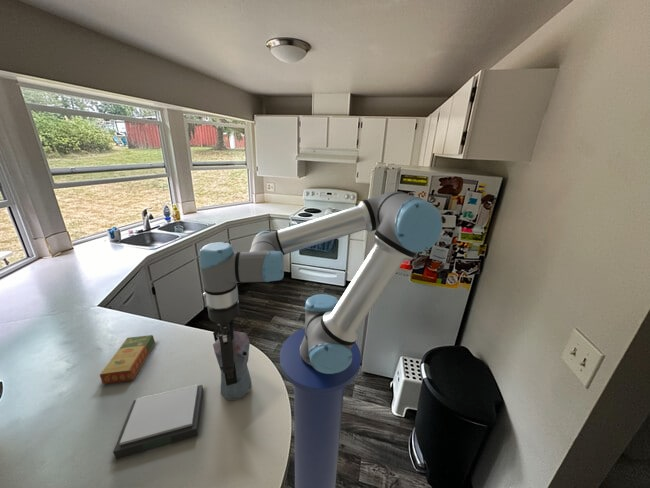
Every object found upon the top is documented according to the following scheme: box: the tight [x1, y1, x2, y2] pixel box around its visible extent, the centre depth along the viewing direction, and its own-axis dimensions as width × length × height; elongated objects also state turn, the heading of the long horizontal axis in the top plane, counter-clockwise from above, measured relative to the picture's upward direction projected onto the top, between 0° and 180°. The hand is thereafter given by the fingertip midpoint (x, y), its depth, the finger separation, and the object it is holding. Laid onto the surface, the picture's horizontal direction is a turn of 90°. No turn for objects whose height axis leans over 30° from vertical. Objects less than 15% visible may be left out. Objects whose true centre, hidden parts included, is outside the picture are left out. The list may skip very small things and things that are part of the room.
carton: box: [99, 334, 156, 385], centre depth 82 cm, size 8×16×4 cm, turn 12°
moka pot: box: [212, 328, 252, 401], centre depth 71 cm, size 10×15×20 cm, turn 58°
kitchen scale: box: [112, 384, 204, 460], centre depth 65 cm, size 17×13×3 cm
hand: (232, 367), depth 72 cm, fingers closed on moka pot, 10 cm apart
